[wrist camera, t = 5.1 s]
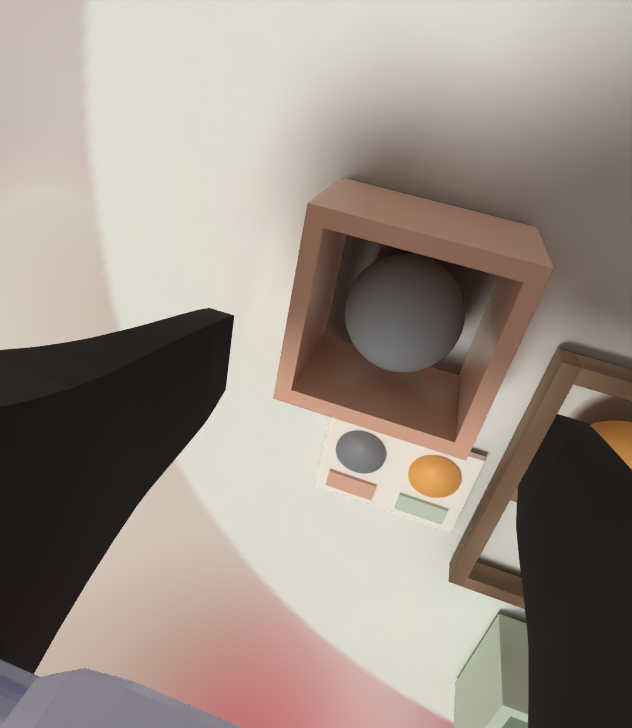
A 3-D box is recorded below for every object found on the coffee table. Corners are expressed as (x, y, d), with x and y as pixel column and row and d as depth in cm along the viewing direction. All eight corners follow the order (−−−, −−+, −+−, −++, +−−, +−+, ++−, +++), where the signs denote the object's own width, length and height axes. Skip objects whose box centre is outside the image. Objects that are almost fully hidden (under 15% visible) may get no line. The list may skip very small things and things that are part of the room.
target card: (484, 456, 19) (485, 463, 19) (450, 527, 21) (450, 535, 21) (334, 408, 20) (331, 414, 20) (315, 480, 22) (312, 487, 22)
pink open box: (536, 227, 15) (554, 267, 12) (468, 390, 18) (466, 460, 15) (343, 177, 16) (307, 202, 13) (309, 342, 19) (273, 398, 16)
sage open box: (636, 663, 22) (665, 767, 19) (574, 727, 25) (589, 827, 22) (498, 613, 23) (502, 704, 20) (455, 682, 26) (452, 771, 23)
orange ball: (689, 419, 17) (737, 494, 14) (633, 496, 18) (664, 578, 15) (576, 385, 17) (599, 451, 14) (533, 464, 19) (544, 537, 16)
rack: (746, 402, 16) (761, 420, 15) (584, 610, 22) (589, 631, 21) (557, 348, 17) (562, 362, 16) (449, 562, 22) (448, 581, 22)
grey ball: (481, 255, 16) (485, 296, 13) (445, 353, 18) (441, 409, 15) (370, 227, 16) (348, 260, 13) (346, 325, 18) (322, 374, 15)
